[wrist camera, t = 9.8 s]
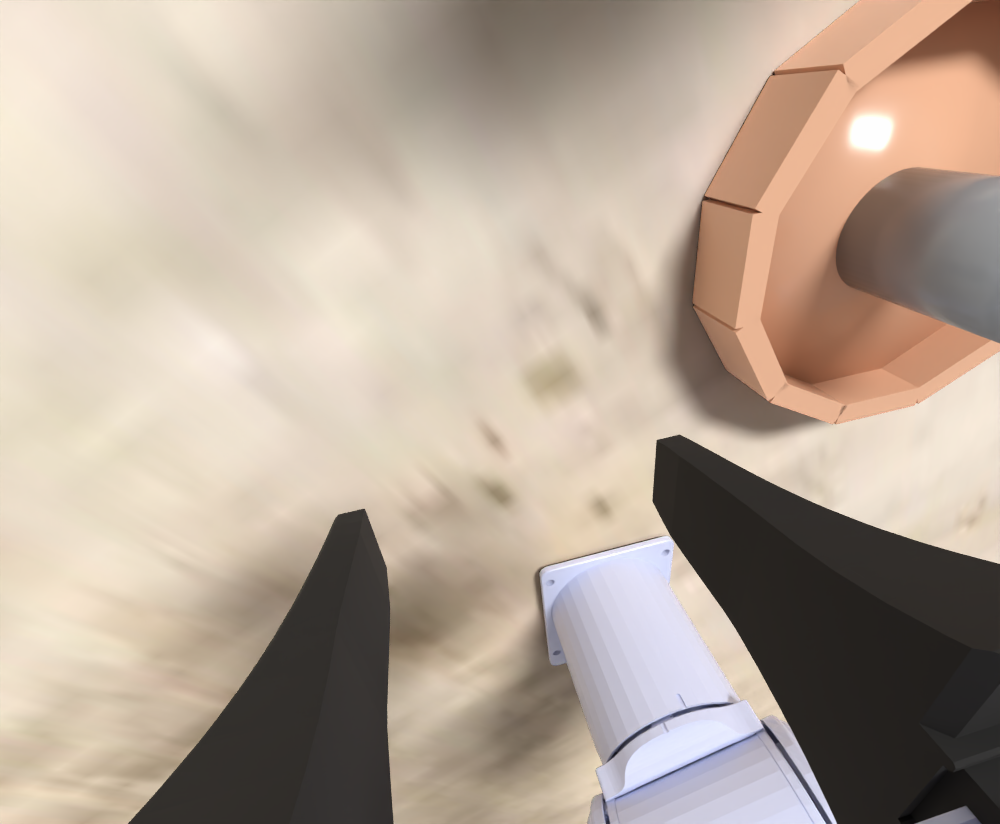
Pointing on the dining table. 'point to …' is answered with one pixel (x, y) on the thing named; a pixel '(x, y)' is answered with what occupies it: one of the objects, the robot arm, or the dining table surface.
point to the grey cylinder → (929, 246)
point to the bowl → (845, 206)
